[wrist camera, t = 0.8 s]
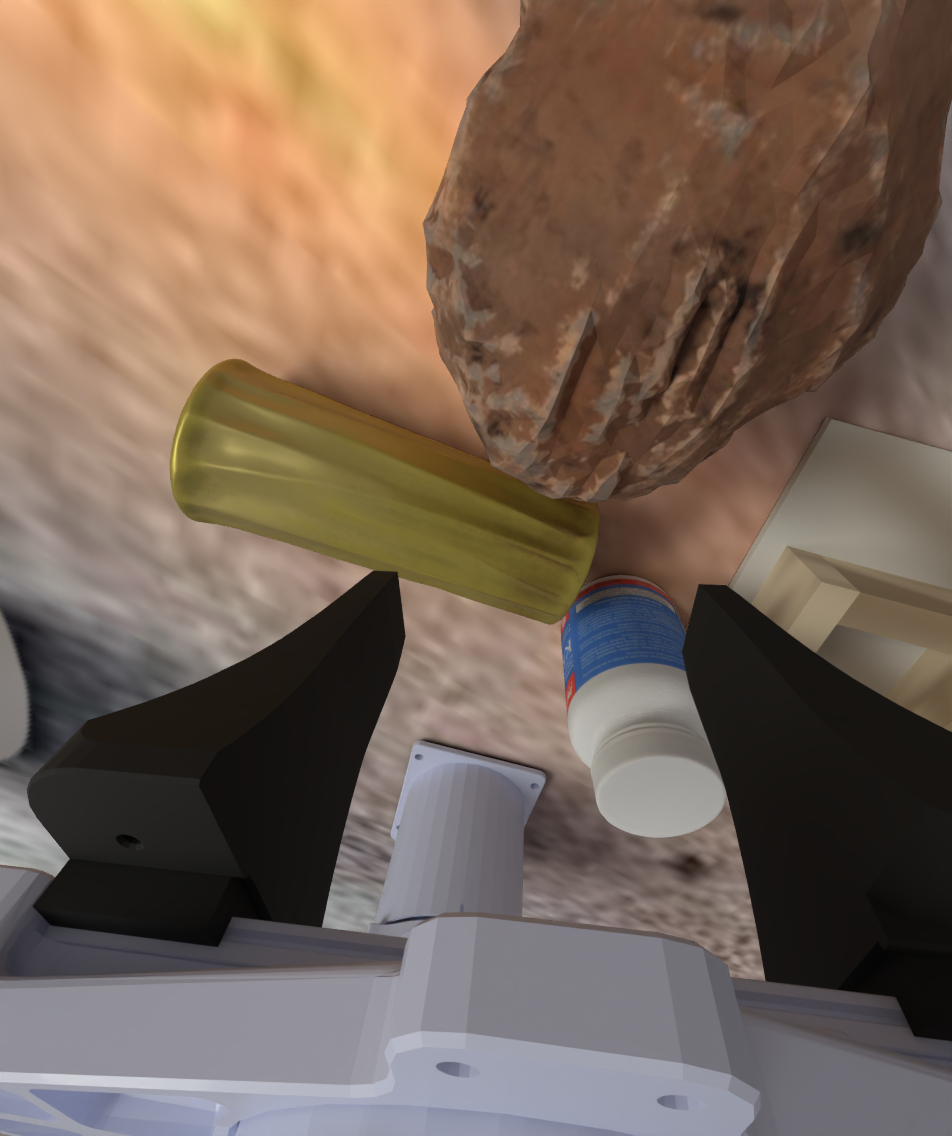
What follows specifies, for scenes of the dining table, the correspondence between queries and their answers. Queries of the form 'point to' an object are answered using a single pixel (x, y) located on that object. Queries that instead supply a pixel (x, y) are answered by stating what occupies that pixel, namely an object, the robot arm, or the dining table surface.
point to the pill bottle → (637, 710)
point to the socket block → (864, 563)
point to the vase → (374, 494)
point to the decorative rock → (678, 222)
